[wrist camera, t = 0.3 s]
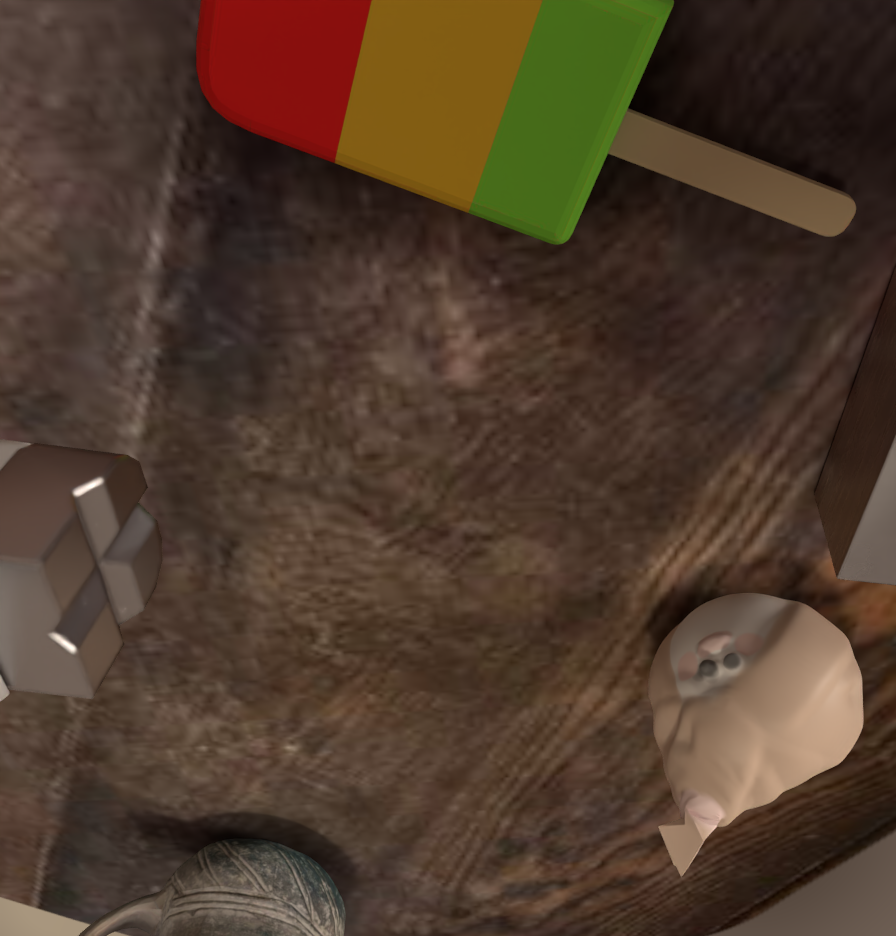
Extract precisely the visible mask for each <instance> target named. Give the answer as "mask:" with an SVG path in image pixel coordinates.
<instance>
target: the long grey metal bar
mask: <svg viewBox="0 0 896 936" xmlns="http://www.w3.org/2000/svg"><path fill="white" fill-rule="evenodd" d="M814 495H815V499H816V503H817V507H818V510H819V514H820V518H821V521H822V525H823V529H824V533H825V536H826V540H827V544H828V547H829V551H830V555H831V558H832V562H833V566H834V570H835V573H836V577H837V578H838V579H843V580H852V581H862V582H871V583H880V584H889V585H896V267H895V270H894V273H893V276H892V279H891V281H890V284H889V287H888V290H887V293H886V295H885V298H884V301H883V304H882V307H881V309H880V312H879V315H878V318H877V321H876V323H875V326H874V329H873V332H872V334H871V337H870V340H869V343H868V346H867V348H866V351H865V354H864V357H863V360H862V362H861V365H860V368H859V371H858V374H857V376H856V379H855V382H854V385H853V388H852V390H851V393H850V396H849V399H848V402H847V404H846V407H845V410H844V413H843V416H842V418H841V421H840V424H839V427H838V429H837V432H836V435H835V438H834V441H833V443H832V446H831V449H830V452H829V455H828V457H827V460H826V463H825V466H824V469H823V471H822V474H821V477H820V480H819V483H818V485H817V488H816V491H815V494H814Z"/></svg>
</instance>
